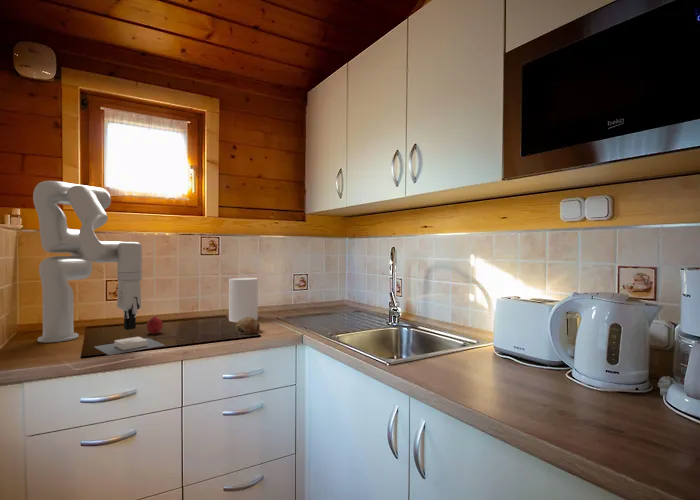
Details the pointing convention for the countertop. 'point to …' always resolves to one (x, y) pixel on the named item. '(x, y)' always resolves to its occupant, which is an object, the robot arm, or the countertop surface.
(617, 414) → the countertop surface
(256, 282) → the canister
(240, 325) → the bread roll
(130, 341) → the picture frame
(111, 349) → the mat
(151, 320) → the onion
